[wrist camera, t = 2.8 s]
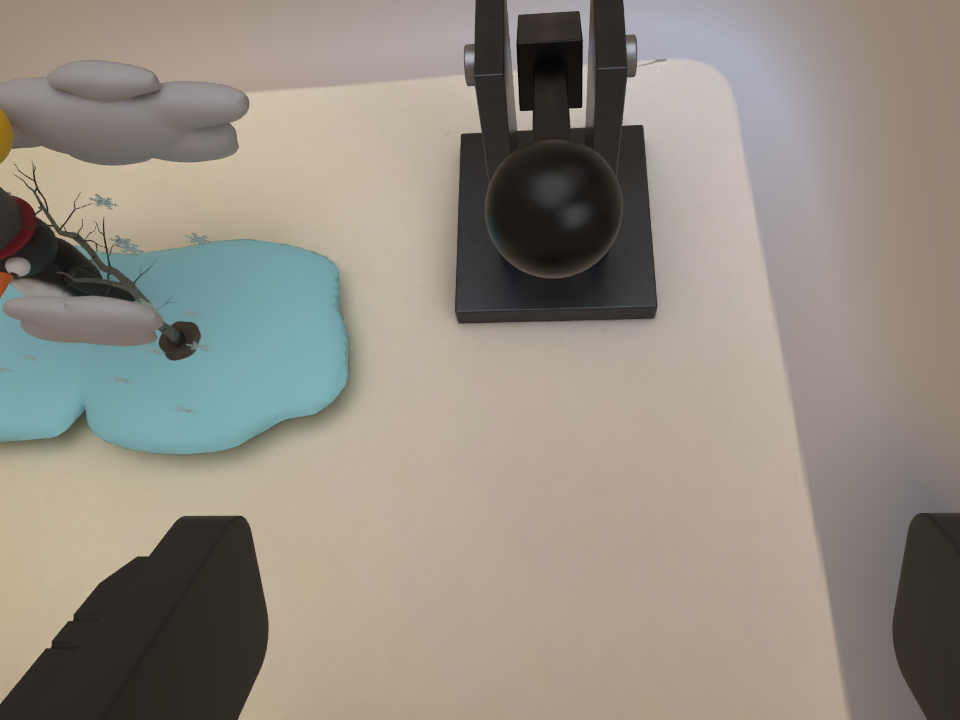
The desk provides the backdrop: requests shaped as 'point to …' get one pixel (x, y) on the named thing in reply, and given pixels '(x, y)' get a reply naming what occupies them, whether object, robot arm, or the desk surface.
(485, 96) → the switch bracket
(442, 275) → the desk surface
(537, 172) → the lever
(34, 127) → the penguin figurine
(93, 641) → the robot arm
